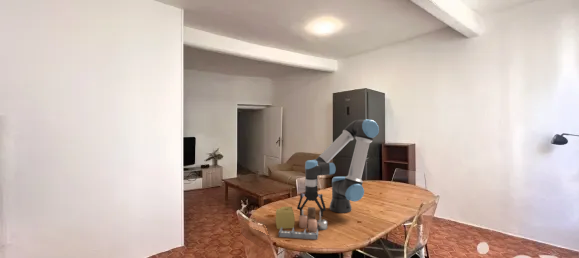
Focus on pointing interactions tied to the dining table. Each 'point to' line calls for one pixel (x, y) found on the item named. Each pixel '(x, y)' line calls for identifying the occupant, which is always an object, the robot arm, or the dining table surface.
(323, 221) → the chrome metal ball
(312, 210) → the walnut post
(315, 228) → the pale pink egg
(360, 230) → the dining table surface
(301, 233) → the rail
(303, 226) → the brown egg
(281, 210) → the cheese
